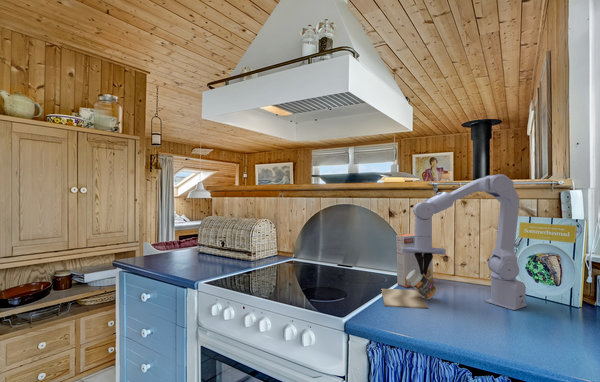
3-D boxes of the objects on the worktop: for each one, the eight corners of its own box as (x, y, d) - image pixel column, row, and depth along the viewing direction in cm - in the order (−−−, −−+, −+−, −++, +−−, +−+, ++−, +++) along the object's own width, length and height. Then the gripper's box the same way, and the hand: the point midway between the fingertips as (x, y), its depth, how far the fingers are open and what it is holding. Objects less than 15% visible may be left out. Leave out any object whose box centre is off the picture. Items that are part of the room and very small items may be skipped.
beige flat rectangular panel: (418, 291, 122) (418, 290, 122) (428, 308, 104) (428, 307, 104) (381, 289, 125) (381, 288, 125) (384, 306, 107) (384, 304, 107)
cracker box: (423, 280, 137) (423, 232, 137) (433, 284, 131) (433, 234, 131) (396, 284, 132) (395, 234, 132) (405, 288, 127) (404, 235, 127)
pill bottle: (432, 300, 109) (409, 279, 111) (424, 300, 114) (402, 281, 116) (440, 287, 111) (418, 267, 112) (432, 288, 116) (411, 269, 118)
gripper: (442, 234, 116) (442, 272, 116) (400, 234, 119) (400, 270, 119) (447, 237, 109) (447, 277, 109) (403, 236, 112) (403, 275, 112)
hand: (423, 274), depth 113 cm, fingers closed
